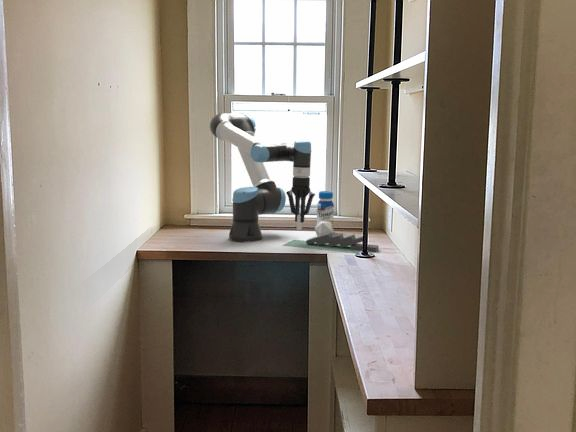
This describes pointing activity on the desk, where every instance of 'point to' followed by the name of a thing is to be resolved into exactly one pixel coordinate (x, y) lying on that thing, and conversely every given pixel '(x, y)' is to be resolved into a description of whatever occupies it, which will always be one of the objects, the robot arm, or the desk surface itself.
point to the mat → (320, 246)
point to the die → (324, 228)
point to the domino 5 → (360, 246)
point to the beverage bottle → (325, 207)
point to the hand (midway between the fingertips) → (299, 229)
